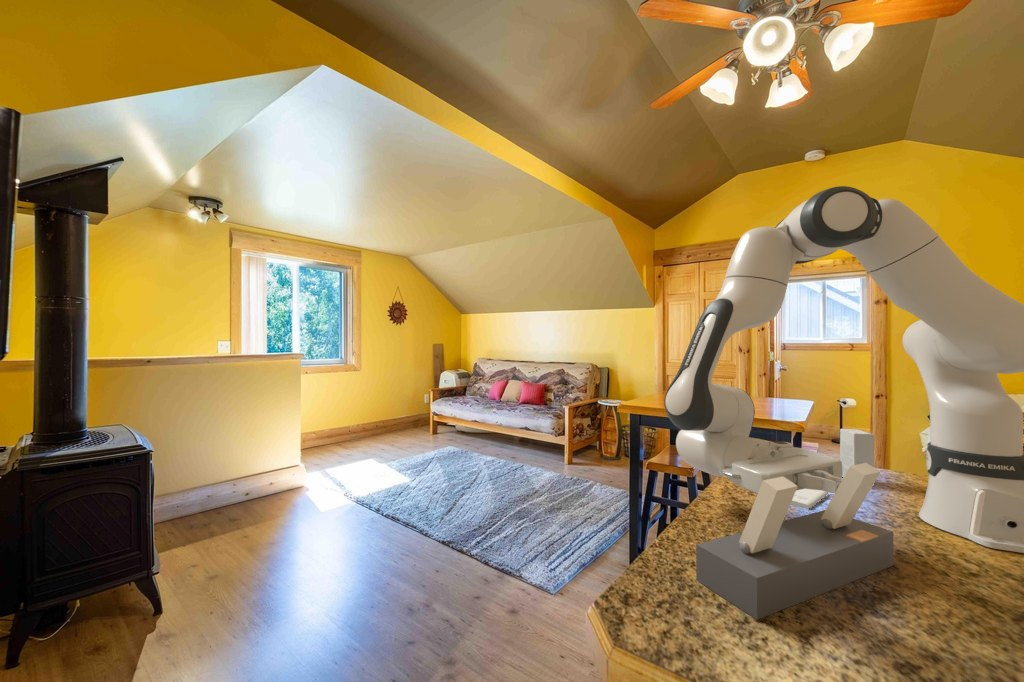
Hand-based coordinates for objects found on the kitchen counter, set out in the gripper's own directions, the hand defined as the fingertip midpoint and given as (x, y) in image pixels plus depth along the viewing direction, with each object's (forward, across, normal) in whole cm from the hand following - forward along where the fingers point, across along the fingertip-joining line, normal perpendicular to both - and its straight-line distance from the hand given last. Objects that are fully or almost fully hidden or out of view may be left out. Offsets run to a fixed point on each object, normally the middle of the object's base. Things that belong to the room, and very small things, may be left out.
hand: (841, 486), depth 62 cm
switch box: (-1, -9, +11) cm, 14 cm away
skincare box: (-20, +45, +11) cm, 50 cm away
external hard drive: (-20, +22, +12) cm, 32 cm away
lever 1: (-1, -18, +6) cm, 19 cm away
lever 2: (-1, 0, +6) cm, 6 cm away
